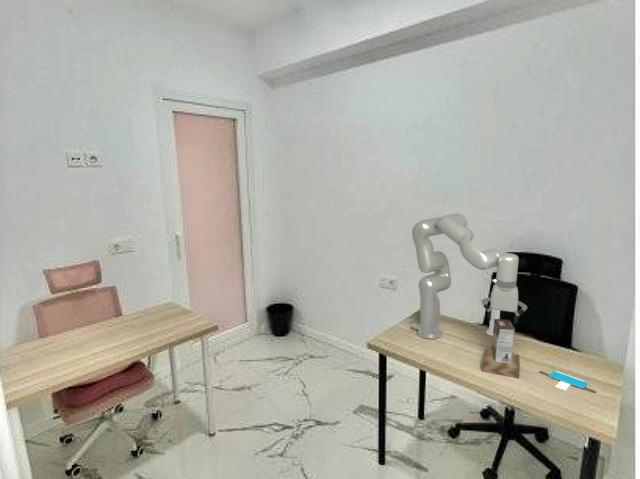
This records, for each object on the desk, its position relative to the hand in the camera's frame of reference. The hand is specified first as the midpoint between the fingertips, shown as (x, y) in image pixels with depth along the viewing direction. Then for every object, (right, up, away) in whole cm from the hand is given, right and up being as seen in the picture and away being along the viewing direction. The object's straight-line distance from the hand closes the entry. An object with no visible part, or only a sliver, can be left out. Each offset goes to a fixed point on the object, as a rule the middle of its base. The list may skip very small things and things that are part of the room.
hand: (502, 321), depth 162 cm
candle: (+12, -14, +35) cm, 39 cm away
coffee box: (+1, -17, +3) cm, 17 cm away
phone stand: (+22, -23, -8) cm, 33 cm away
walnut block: (+1, -21, +4) cm, 22 cm away
